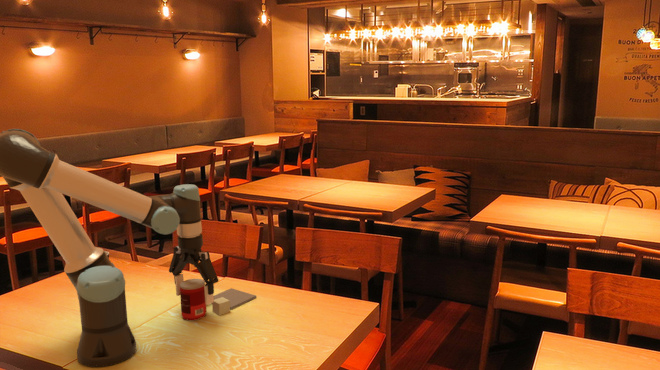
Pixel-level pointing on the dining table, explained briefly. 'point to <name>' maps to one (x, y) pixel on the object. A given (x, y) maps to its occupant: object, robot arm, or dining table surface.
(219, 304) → the beige block
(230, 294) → the slate coaster
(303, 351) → the dining table surface
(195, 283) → the canned food
